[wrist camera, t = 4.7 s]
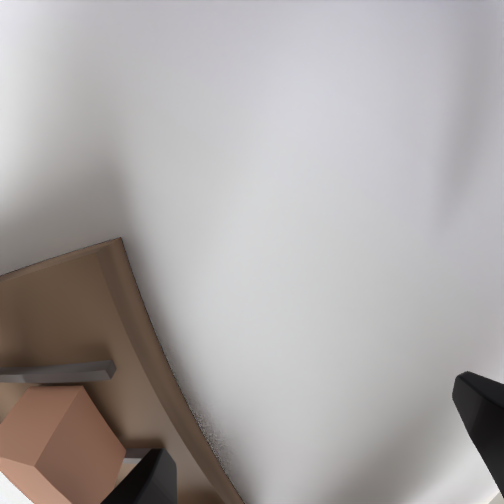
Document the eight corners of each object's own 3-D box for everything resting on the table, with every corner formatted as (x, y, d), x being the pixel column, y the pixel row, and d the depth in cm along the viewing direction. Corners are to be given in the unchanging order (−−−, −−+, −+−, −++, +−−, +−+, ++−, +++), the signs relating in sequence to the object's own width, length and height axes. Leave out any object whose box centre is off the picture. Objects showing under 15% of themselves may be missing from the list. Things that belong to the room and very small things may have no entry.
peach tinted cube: (82, 385, 9) (33, 466, 5) (126, 450, 10) (101, 527, 6) (29, 386, 9) (-19, 450, 5) (73, 446, 10) (42, 511, 6)
